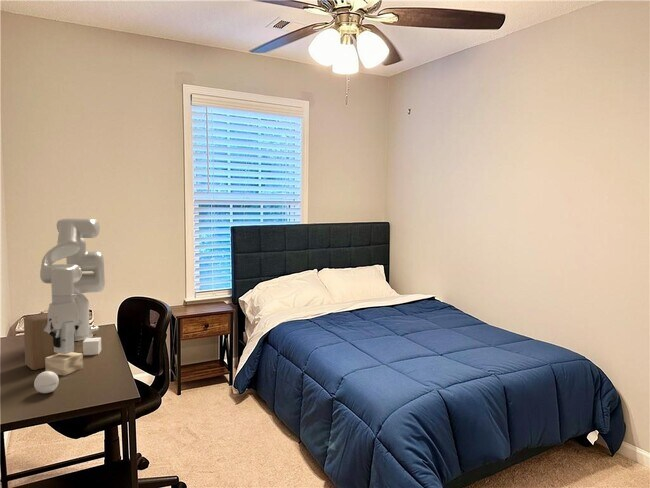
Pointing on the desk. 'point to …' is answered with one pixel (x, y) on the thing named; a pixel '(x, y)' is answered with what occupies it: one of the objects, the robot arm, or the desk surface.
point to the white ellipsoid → (46, 382)
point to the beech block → (64, 363)
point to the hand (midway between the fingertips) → (64, 344)
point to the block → (37, 341)
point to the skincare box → (66, 339)
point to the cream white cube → (92, 346)
